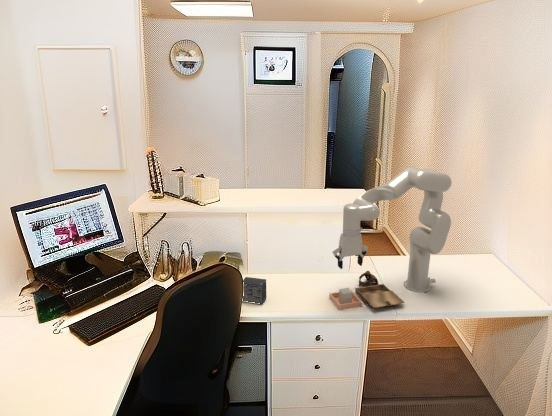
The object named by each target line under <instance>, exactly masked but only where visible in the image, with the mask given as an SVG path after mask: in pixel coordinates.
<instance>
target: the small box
mask: <svg viewBox="0 0 552 416" xmlns="http://www.w3.org/2000/svg"><path fill="white" fill-rule="evenodd" d="M242 281H243V282H244V296H243V301H248V302H255V303H260V304H259V305H261V304H263V303H264V304H265V302H266V301H267V299H268V298H267V279H265V278H259V277H251V276H250V277H249V276H246V277H244V278H243V280H242ZM266 298H267V299H266ZM264 304H263V305H264Z"/></svg>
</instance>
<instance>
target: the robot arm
mask: <svg viewBox="0 0 552 416" xmlns="http://www.w3.org/2000/svg"><path fill="white" fill-rule="evenodd" d="M452 183H453V182H452V179H451V177H450V176H449V175H448V174H447V173H443V172H441V171H438V170H435V169H431V168H423V169H421V168H418V167H414V166H409V167H406V168H405V169H403V170H402V171H401V172H400V173H397V174H396V175H395V176H393V178H391V179H390V180H389V181H388V182H386V183H385V184H381V185H379V186H376V187H372V188H371V189H368V190H365V191H364V192H363V193H362V194H360V195H359V196H358V197H357V198H355V200H354V201H353V203H347V204H345V205H344V206H343V213H342V214H343V217H342V233H340V237H339V241H338V248H336V249H335V250H333V251H332V255H333V256H334V258H336V260H337V267H338V268H339V269H340V270H342V269H343V266H344V265H343V259H344V258H346V257H353V256H357V264H358V265H359V266H360V267H362V266H363V261H364V257H365V256H366V255H367V253H368V250H369V246H367V245H365V244H363V238H362V234H361V233H362V232H361V231H363V227H361V221H366V222H367V221H375V220H376V219H377V218H379V215H380V213H381V211H380V209H379V207H378V206H377V205H376V204H375V203H377V202H381V201H393V200H394V201H395V200H398V199H399V198H400V197H402V196H403V195H404V194H405V193H407V192H408V191H409V190H411V189H412V188H415V189H418V190H420V191H423V193H424V196H423V199H422V203H421V206H420V211H419V214H418V222H419V223H420V224H422V225H423V226H415V227H414V228H412V230H410V233H409V236H408V238H409V239H408V241H409V257H408V268H407V270H408V271H407V279H406V280H405V281H404V282H403V287H404V288H405V289H406V290H408V291H411V292H415V293H424V294H425V293H427V292H429V291H430V290H431V286H430V284H433V283H434V284H435V283H436V279H435V278H431V277H429V271H430V261H431V254H432V255H436V254H439V253H440V252H441V251H443V249H444V247H445V244H446V241H447V239H448V235H449V233H450V229H451V226H452V219H451V216H450V215H449V214H448V213H447V212H446V211H443V210H442V205H443V202H444V201H443V200H444V192H447V191H448V190H449V189H450V187H451V186H452ZM424 226H426V227H427V228H426V227H424ZM428 228H429V229H428Z"/></svg>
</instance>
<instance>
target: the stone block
mask: <svg viewBox="0 0 552 416" xmlns="http://www.w3.org/2000/svg"><path fill="white" fill-rule="evenodd" d="M351 291H352V289H350V288H348V287H345V288H339V290H338V292H339V301H340V303H341V304H346V303H352V292H353V291H352V292H351Z"/></svg>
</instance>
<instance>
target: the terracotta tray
mask: <svg viewBox="0 0 552 416" xmlns="http://www.w3.org/2000/svg"><path fill="white" fill-rule="evenodd" d="M351 292H352V303H346V304H341V303H340V301H339V291H337V292H331V293H330V292H329V295H328V297H329V300H330V301H331V302H332V304H333V305H334V306H335V307H336V308H337V310H338V311H343V310H349V309H355V308H360V307H362V303H363V301H362V300H361V299H360V298H359V297H358V296H357V294H356V293H355V292H354V291H353V290H351Z"/></svg>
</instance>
